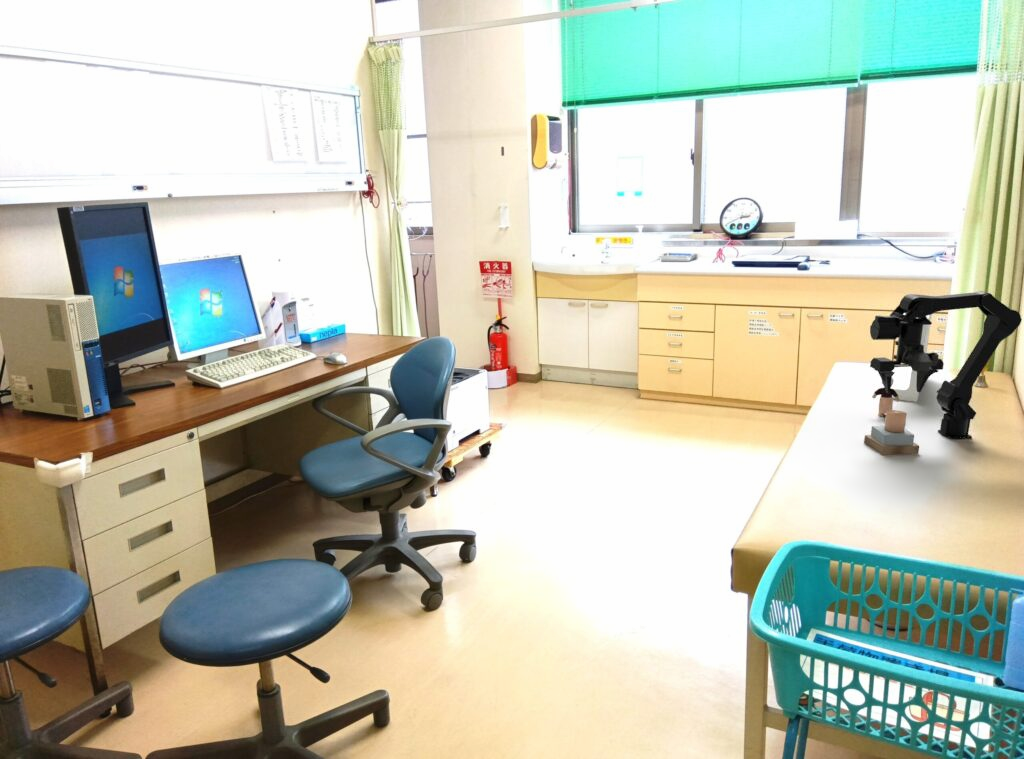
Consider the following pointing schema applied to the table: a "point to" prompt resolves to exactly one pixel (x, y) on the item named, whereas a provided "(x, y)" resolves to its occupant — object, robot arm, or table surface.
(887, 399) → the grandmother figurine
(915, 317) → the robot arm
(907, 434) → the grey top slab
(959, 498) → the table surface
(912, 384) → the white forked cradle stand
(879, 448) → the walnut base slab
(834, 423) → the table surface
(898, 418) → the peach domed cylinder
